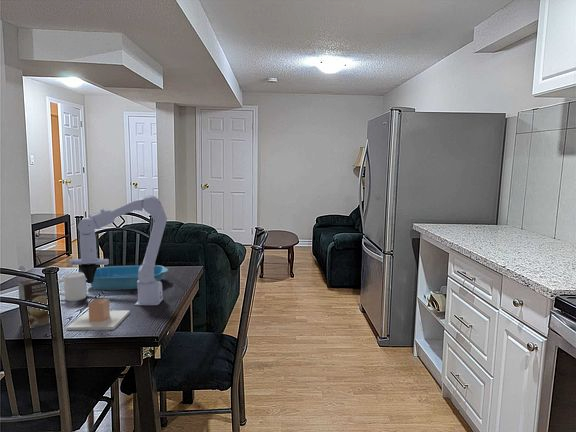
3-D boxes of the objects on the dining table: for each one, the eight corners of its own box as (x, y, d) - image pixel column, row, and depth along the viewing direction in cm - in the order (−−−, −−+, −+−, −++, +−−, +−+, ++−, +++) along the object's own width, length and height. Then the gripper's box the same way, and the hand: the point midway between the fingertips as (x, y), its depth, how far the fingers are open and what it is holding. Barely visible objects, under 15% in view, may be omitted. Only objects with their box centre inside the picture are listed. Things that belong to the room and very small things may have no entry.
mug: (52, 302, 170) (50, 278, 168) (59, 296, 178) (57, 273, 176) (83, 300, 172) (82, 276, 171) (89, 294, 180) (87, 271, 179)
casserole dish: (170, 276, 210) (170, 263, 209) (165, 289, 188) (164, 274, 187) (94, 280, 204) (93, 266, 203) (79, 294, 182) (78, 278, 181)
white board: (129, 312, 158) (129, 297, 157) (113, 329, 142) (112, 312, 141) (87, 313, 157) (86, 298, 157) (66, 330, 142) (65, 313, 141)
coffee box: (27, 330, 142) (23, 285, 140) (20, 325, 146) (16, 281, 144) (55, 322, 149) (52, 279, 147) (48, 318, 153) (45, 276, 151)
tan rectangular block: (109, 315, 152) (108, 298, 151) (104, 321, 147) (103, 303, 146) (95, 315, 152) (94, 298, 151) (89, 321, 147) (88, 303, 146)
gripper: (64, 251, 156) (66, 285, 158) (102, 250, 157) (104, 285, 158) (73, 247, 163) (75, 280, 165) (110, 247, 164) (112, 280, 165)
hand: (90, 282), depth 162 cm, fingers closed
